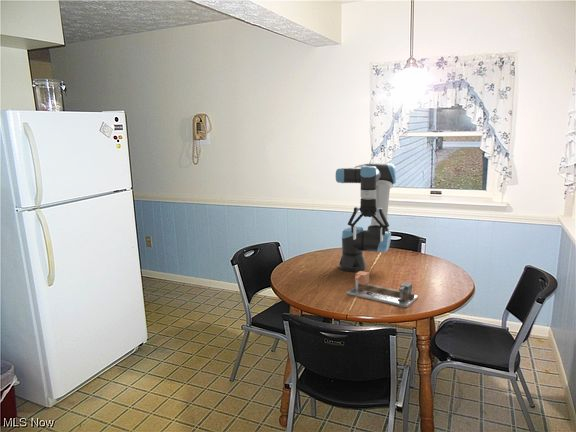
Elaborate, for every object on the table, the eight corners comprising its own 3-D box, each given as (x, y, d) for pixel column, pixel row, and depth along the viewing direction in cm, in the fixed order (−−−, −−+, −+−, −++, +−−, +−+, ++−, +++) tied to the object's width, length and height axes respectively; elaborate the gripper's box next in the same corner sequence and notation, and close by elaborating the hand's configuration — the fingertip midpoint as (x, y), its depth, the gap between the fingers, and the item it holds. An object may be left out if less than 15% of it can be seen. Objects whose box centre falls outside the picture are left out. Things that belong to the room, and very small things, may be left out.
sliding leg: (351, 289, 207) (351, 276, 205) (360, 283, 214) (360, 270, 212) (360, 291, 204) (360, 277, 202) (369, 285, 211) (369, 272, 209)
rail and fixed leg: (350, 290, 207) (350, 278, 206) (359, 284, 214) (359, 273, 213) (408, 303, 190) (408, 290, 189) (415, 296, 197) (415, 284, 196)
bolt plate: (347, 293, 206) (347, 291, 206) (359, 285, 216) (359, 283, 216) (406, 307, 188) (406, 304, 188) (417, 297, 198) (417, 295, 198)
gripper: (341, 198, 209) (341, 240, 213) (392, 200, 199) (391, 243, 203) (345, 195, 216) (345, 236, 220) (395, 197, 206) (394, 240, 210)
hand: (368, 240), depth 212 cm, fingers open, 13 cm apart
